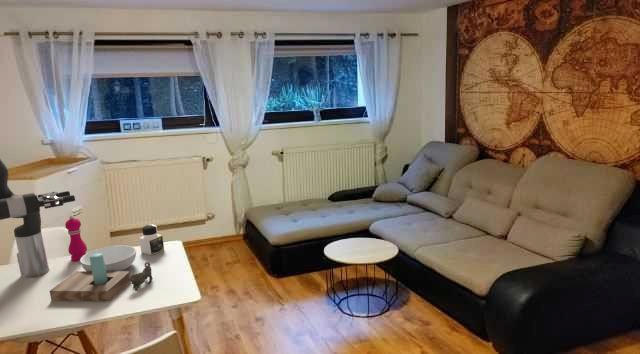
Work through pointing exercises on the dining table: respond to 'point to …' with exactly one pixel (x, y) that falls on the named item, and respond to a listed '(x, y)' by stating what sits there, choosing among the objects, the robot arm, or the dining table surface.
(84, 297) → the socket board
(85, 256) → the serving bowl
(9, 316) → the dining table surface
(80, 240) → the pepper mill
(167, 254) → the dining table surface
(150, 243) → the medicine bottle
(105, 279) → the pin
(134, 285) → the dog figurine
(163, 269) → the dining table surface
